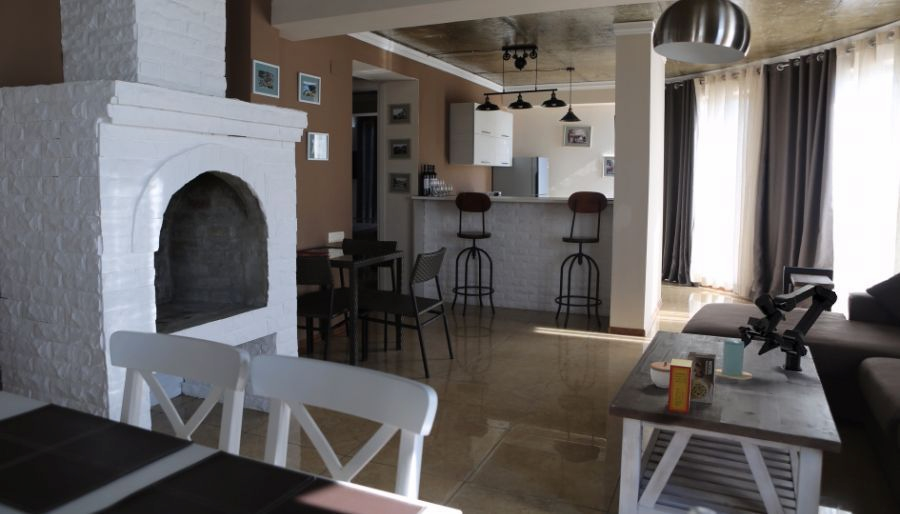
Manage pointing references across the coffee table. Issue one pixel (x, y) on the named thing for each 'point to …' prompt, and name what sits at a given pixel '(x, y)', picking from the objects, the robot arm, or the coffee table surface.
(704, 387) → the coffee box
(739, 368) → the teal domed canister
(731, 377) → the oak plate
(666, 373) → the lidded jar
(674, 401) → the baking soda box
